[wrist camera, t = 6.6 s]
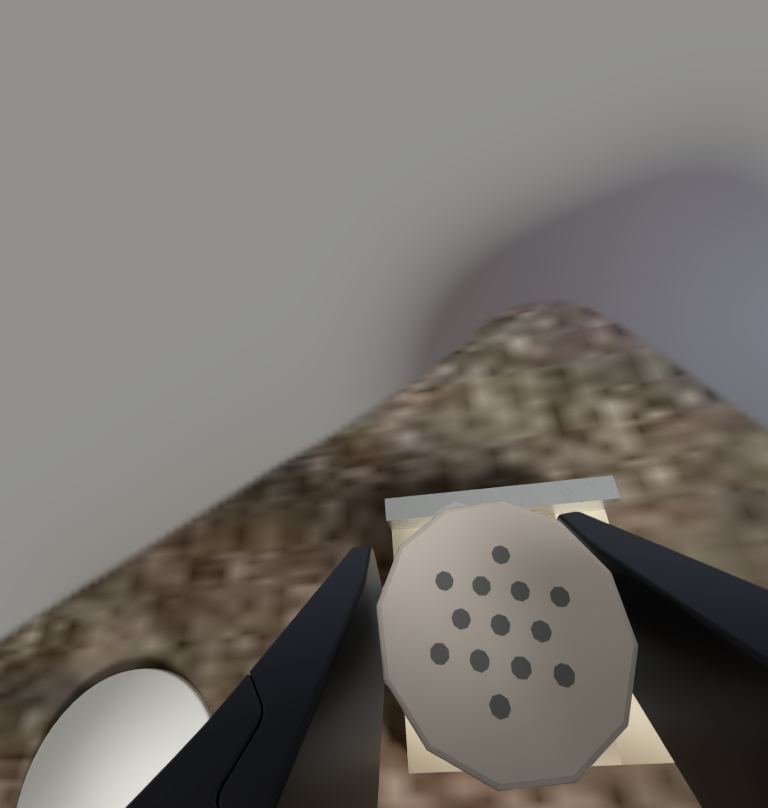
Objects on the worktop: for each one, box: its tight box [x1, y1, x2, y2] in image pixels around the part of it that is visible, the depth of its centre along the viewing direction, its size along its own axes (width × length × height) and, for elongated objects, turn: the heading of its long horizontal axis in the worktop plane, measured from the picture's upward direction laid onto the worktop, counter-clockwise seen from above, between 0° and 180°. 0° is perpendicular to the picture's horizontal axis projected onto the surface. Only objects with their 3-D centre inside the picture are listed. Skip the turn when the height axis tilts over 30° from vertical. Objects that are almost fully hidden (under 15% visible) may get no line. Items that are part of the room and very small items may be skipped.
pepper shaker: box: [376, 500, 638, 791], centre depth 9 cm, size 4×4×10 cm
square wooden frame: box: [385, 476, 675, 773], centre depth 17 cm, size 10×10×4 cm
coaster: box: [17, 668, 212, 808], centre depth 18 cm, size 9×9×1 cm
